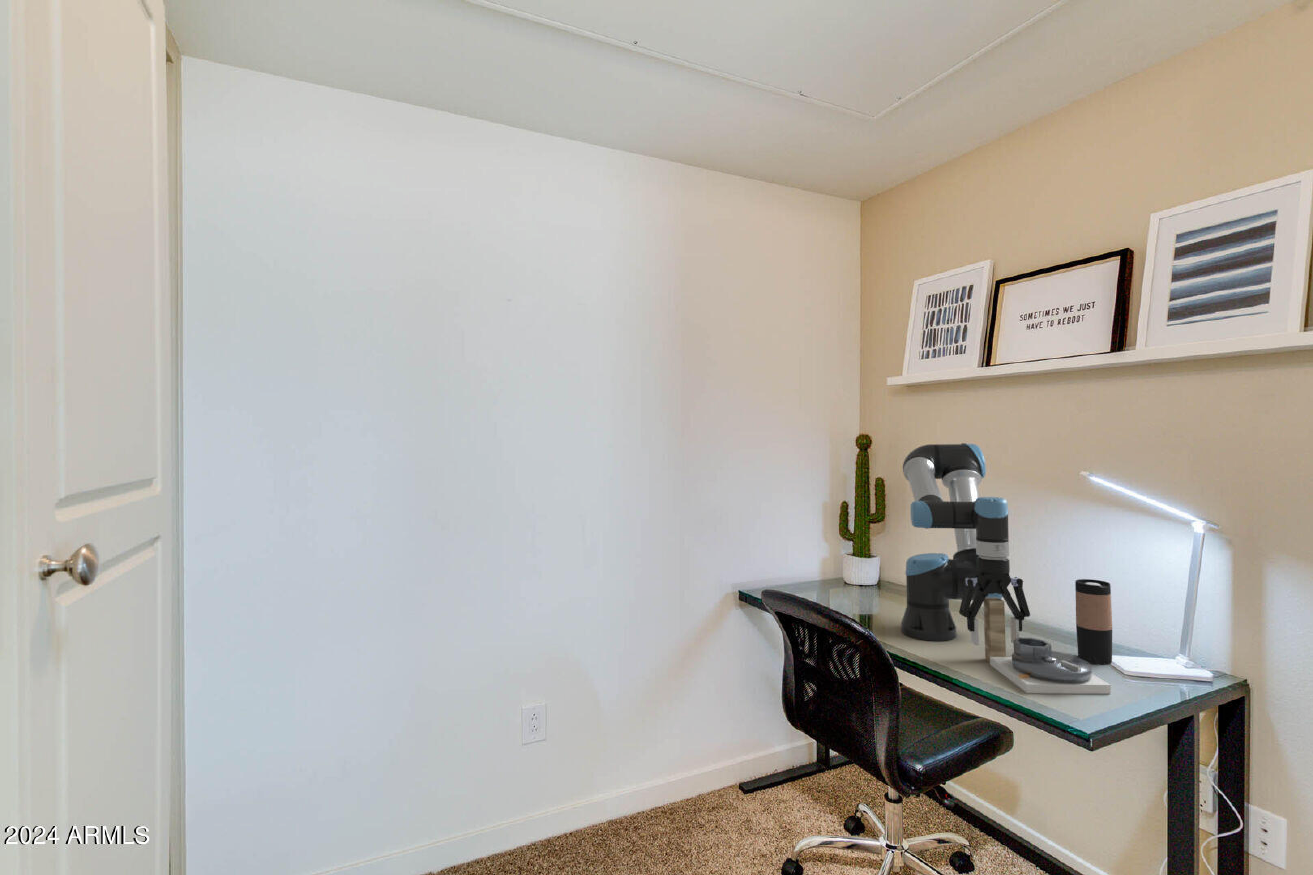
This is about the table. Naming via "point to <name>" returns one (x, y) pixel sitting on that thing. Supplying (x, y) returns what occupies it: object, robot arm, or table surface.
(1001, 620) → the stick
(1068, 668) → the dial
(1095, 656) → the travel mug
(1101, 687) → the plate
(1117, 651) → the table surface
